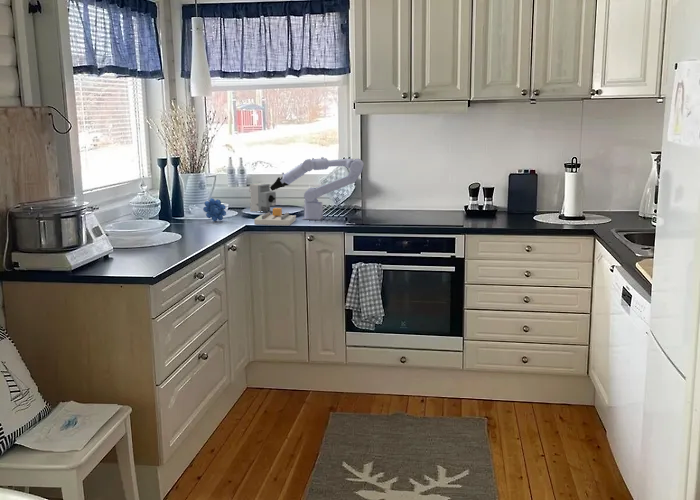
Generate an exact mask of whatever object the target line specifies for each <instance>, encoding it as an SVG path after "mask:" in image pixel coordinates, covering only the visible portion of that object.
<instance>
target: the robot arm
mask: <svg viewBox="0 0 700 500" xmlns="http://www.w3.org/2000/svg"><path fill="white" fill-rule="evenodd" d="M364 165H365V164H364V161H363V160H362V159H361V158H341V159H331V160H329V159H328V158H326V157H323V156H320V158H313V157H312V158H306V159H305V160H303V162H302V163H300V164H298V165H296V166H294V167H293V168H292V169H290V170H289V171H286V172H285V173H284V172H281V175H282V176H281V177H279V176H278V177H277V179H276V180H275V181H274V183H273V184H272V185H270V191H275V190H278V189H280V188H285V187H286V186H287V187H288V186H290V185H291V184H292V183H294V182H295V181H296V180H298V179H299V178H302V177H303V176H304V175H305V174H307V173H308V172H311V171H313V170H314V171H320V170H328V169H329V168H331V167H345V168H347V169H349V172H348V175H346V176H344V177H341V178H337V179H336V180H333V181H330V182H328V183H324V184H323V185H320V186H317V187H309V188H308V189H307V190H306V191H305V192H304V193H303V199H304V202H303V203H304V217H302V220H315V221H316V220H319V221H320V220H322V219H323V218H324V212H323V211H324V209H323V208H324V207H323V201H319V200H318V198H320V197H322V196H324V195H327V194H329V193H331V192H334V191H336V190H339V189H342V188H344V187H347V186H350V185H352V184H354V183H356V182H357V180H358V178H359V177H360V175H361V174H362V172H363V169H364Z"/></svg>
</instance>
